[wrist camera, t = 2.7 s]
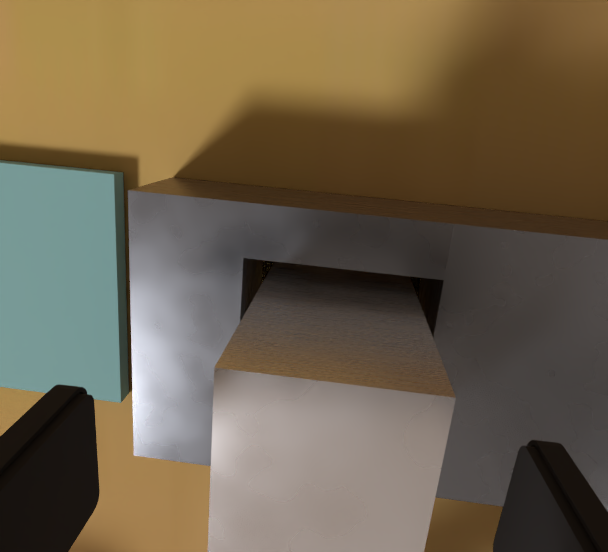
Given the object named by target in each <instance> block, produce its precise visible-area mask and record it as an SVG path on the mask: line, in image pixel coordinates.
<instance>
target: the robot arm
mask: <svg viewBox="0 0 608 552" xmlns="http://www.w3.org/2000/svg"><path fill="white" fill-rule="evenodd" d="M98 498H99V478H98V461H97V444H96V427H95V410H94V398H93V396H92V395H89V394H87V391H86V389H85V388H84V387H78V386H69V385H61V384H59V385H55V386H54V387H53V388H52V389H51V390H49V391H48V392H47V393H46V394H45V395H44V396H43V397H42V398H41V399H40V400H39V401H38V402H37V403H36V404H35V405H34V406H32V407H31V408H30V409H29V410H28V411H27V412H26V413H25V414H24V415H23V416H22V417H21V418H20V419H19V420H18V421H16V422H15V423H14V424H13V425H12V426H11V427H10V428H9V429H8V430H7V431H6V432H5V433H4V434H3V435H2V436H0V552H68V551H69V550H70V548H71V546H72V545H73V543H74V542H75V540H76V538H77V537H78V535H79V534H80V532H81V530H82V529H83V527H84V526H85V524H86V522H87V521H88V519H89V518H90V516H91V515H92V513H93V511H94V509H95V508H96V505H97V502H98ZM493 552H608V512H607V510H606V509H605V507H604V506H603V504H602V503H601V501H600V500H599V498H598V497H597V495H596V494H595V492H594V491H593V489H592V488H591V486H590V485H589V483H588V482H587V480H586V479H585V477H584V476H583V474H582V473H581V471H580V470H579V468H578V467H577V466H576V464H575V463H574V461H573V460H572V458H571V457H570V455H569V454H568V452H567V451H566V449H565V448H564V446H563V445H562V444H560V443H556V442H548V441H539V440H531V441H529V443H528V444H527V446H521V447H520V448H519V451H518V454H517V458H516V461H515V465H514V469H513V472H512V476H511V480H510V484H509V487H508V491H507V495H506V498H505V502H504V506H503V509H502V513H501V517H500V520H499V524H498V528H497V532H496V535H495V539H494V544H493Z"/></svg>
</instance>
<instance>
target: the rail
mask: <svg viewBox="0 0 608 552" xmlns="http://www.w3.org/2000/svg"><path fill="white" fill-rule="evenodd" d="M128 217H129V261H130V306H131V351H132V395H133V440H134V455H135V456H143V457H150V458H157V459H164V460H171V461H179V462H186V463H193V464H200V465H207V466H211V446H212V418H213V389H214V367H215V365H216V364H217V362H218V360H219V358H220V357H221V355H222V353H223V351H224V349H225V348H226V346H227V344H228V342H229V341H230V339H231V337H232V335H233V334H234V332H235V330H236V328H237V327H238V325H239V323H240V321H241V320H242V318H243V316H244V314H245V313H246V311H247V309H248V307H249V306H250V304H251V302H252V300H253V299H254V297H255V295H256V293H257V292H258V290H259V288H260V286H261V281H262V265H263V260H266V261H275V262H284V263H293V264H302V265H311V266H320V267H329V268H338V269H347V270H356V271H365V272H374V273H383V274H392V275H401V276H410V277H419V278H421V280H420V286H419V292H418V300H419V302H420V305H421V308H422V310H423V313H424V315H425V318H426V321H427V323H428V326H429V329H430V331H431V334H432V336H433V339H434V342H435V344H436V347H437V349H438V352H439V355H440V357H441V360H442V363H443V365H444V368H445V370H446V373H447V376H448V378H449V381H450V384H451V386H452V389H453V391H454V394H455V397H456V400H455V405H454V410H453V414H452V419H451V424H450V429H449V434H448V439H447V443H446V448H445V453H444V458H443V463H442V467H441V472H440V477H439V482H438V487H437V492H436V496H435V497H438V498H445V499H452V500H459V501H466V502H474V503H481V504H488V505H495V506H502V507H503V506H504V502H505V498H506V495H507V491H508V487H509V484H510V480H511V476H512V472H513V469H514V465H515V461H516V458H517V454H518V451H519V448H520V447H521V446H527V444H528V443H529V441H531V440H539V441H548V442H556V443H560V444H562V445H563V446H564V448H565V449H566V451H567V452H568V454H569V455H570V457H571V458H572V460H573V461H574V463H575V464H576V466H577V467H578V468H579V470H580V471H581V473H582V474H583V476H584V477H585V479H586V480H587V482H588V483H589V485H590V486H591V488H592V489H593V491H594V492H595V494H596V495H597V497H598V498H599V500H600V501H601V503H602V504H603V506H604V507H605V509H606V510H607V512H608V221H600V220H590V219H580V218H570V217H560V216H550V215H540V214H530V213H520V212H510V211H500V210H491V209H481V208H471V207H461V206H451V205H441V204H431V203H421V202H411V201H401V200H391V199H382V198H372V197H362V196H352V195H342V194H332V193H322V192H312V191H302V190H292V189H282V188H273V187H263V186H253V185H243V184H233V183H223V182H213V181H203V180H193V179H183V178H173V177H172V178H169V179H165V180H162V181H158V182H155V183H151V184H148V185H144V186H141V187H137V188H134V189H130V190H128Z"/></svg>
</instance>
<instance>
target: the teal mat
mask: <svg viewBox="0 0 608 552" xmlns="http://www.w3.org/2000/svg"><path fill="white" fill-rule="evenodd" d="M59 384H61V385H69V386H78V387H84V388H85V389H86V391H87V394H89V395H92V396H93V398H94V399H97V400H105V401H112V402H120V403H121V402H122V401H123V400H124V398H125V397H126V396H127V395H128V394H129V381H128V341H127V301H126V261H125V221H124V181H123V172H114V171H104V170H94V169H84V168H74V167H64V166H55V165H45V164H35V163H25V162H15V161H5V160H0V387H6V388H14V389H21V390H29V391H36V392H44V393H47V392H48V391H49V390H51V389H52V388H53V387H54V386H55V385H59Z"/></svg>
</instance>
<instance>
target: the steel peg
mask: <svg viewBox="0 0 608 552" xmlns="http://www.w3.org/2000/svg"><path fill="white" fill-rule="evenodd" d="M455 400H456V397H455V394H454V391H453V389H452V386H451V384H450V381H449V378H448V376H447V373H446V370H445V368H444V365H443V363H442V360H441V357H440V355H439V352H438V349H437V347H436V344H435V342H434V339H433V336H432V334H431V331H430V329H429V326H428V323H427V321H426V318H425V315H424V313H423V310H422V308H421V305H420V302H419V300H418V297H417V295H416V292H415V289H414V287H413V284H412V281H411V279H410V276H401V275H392V274H383V273H374V272H365V271H356V270H347V269H338V268H329V267H320V266H311V265H302V264H293V263H284V262H274V263H273V265H272V267H271V269H270V270H269V272H268V274H267V276H266V277H265V279H264V281H263V283H262V284H261V286H260V288H259V290H258V292H257V293H256V295H255V297H254V299H253V300H252V302H251V304H250V306H249V307H248V309H247V311H246V313H245V314H244V316H243V318H242V320H241V321H240V323H239V325H238V327H237V328H236V330H235V332H234V334H233V335H232V337H231V339H230V341H229V342H228V344H227V346H226V348H225V349H224V351H223V353H222V355H221V357H220V358H219V360H218V362H217V364H216V365H215V367H214V389H213V418H212V446H211V475H210V503H209V532H208V552H424V549H425V544H426V540H427V535H428V530H429V525H430V520H431V516H432V511H433V506H434V501H435V496H436V492H437V487H438V482H439V477H440V472H441V467H442V463H443V458H444V453H445V448H446V443H447V439H448V434H449V429H450V424H451V419H452V414H453V410H454V405H455Z"/></svg>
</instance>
